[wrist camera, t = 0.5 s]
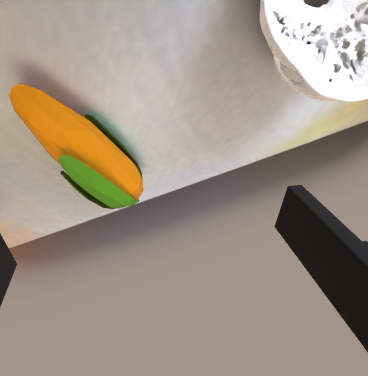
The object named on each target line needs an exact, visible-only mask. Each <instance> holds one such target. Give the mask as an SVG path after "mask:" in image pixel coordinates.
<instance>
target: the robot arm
mask: <svg viewBox="0 0 368 376" xmlns="http://www.w3.org/2000/svg"><path fill="white" fill-rule="evenodd" d="M275 228H276V229H277V231H278V232H279V233H280V235H281V236H282V237H283V238H284V240H285V241H286V243H287V244H288V245H289V247H290V248H291V249H292V251H293V252H294V253H295V255H296V256H297V257H298V259H299V260H300V261H301V262H302V264H303V265H304V267H305V268H306V269H307V271H308V272H309V274H310V275H311V276H312V278H313V279H314V280H315V282H316V283H317V284H318V286H319V287H320V288H321V290H322V291H323V293H324V294H325V295H326V297H327V298H328V299H329V301H330V302H331V303H332V305H333V306H334V307H335V308H336V310H337V311H338V312H339V314H340V315H341V317H342V318H343V319H344V321H345V322H346V324H347V325H348V326H349V327H350V329H351V330H352V332H353V333H354V334H355V335H356V337H357V338H358V340H359V341H360V342H361V344H362V345H363V346H364V348H365V349H366V350H367V352H368V242H367V241H361V240H360V239H359V238H358V237H357V236H356V235H355V234H353V233H352V232H351V231H350V230H349V229H348V228H347V227H346V226H345V225H344V224H342V222H341V221H340V220H338V219H337V218H336V217H335V216H334V215H333V214H332V213H331V212H330V211H329V210H328V209H327V208H326V207H324V206H323V205H322V204H321V203H320V202H319V201H318V200H317V199H316V198H315V197H314V196H313V195H312V194H311V193H309V192H308V191H307V190H306V189H305V188H304V187H303V186H302V185H296V186H288V187H287V191H286V194H285V197H284V200H283V203H282V206H281V209H280V212H279V215H278V218H277V221H276V224H275ZM16 265H17V263H16V261H15V260H14V258H13V256H12V254H11V252H10V250H9V249H8V247H7V245H6V243H5V241H4V239H3V238H2V236H1V234H0V306H1V304H2V301H3V299H4V296H5V293H6V291H7V288H8V286H9V283H10V281H11V278H12V276H13V273H14V270H15V268H16Z"/></svg>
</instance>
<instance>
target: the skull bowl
mask: <svg viewBox="0 0 368 376" xmlns="http://www.w3.org/2000/svg"><path fill="white" fill-rule="evenodd" d="M307 23H309V24H307ZM260 24H261V29H262V32H263V34H264V36H265V38H266V41H267V43H268V45H269V47H270V50H271V51H272V53H273V55H274V62H275V65H276V68H277V69H278V71H279V73H280V75H281V76H282V77H283V79H284V80H285V81H286V82H287V83H288V84H289V85H290V86H291V87H292V88H293V89H295V90H297V91H299V92H302V93H304V94H305V95H307V96H308V97H310V98H312V99H316V100H328V101H341V102H358V101H363V100H366V99H368V0H329V1H328V3H327V4H325V5H322V6H321V7H312V6H309V5H307V4H305V3H304V0H261V1H260ZM316 26H317V28H316V29H315V27H316ZM319 26H321V27H320V28H319ZM313 31H316V32H315V33H313ZM317 33H318V34H317ZM364 34H366V35H364ZM302 37H305V38H303V39H302ZM307 41H310V42H311V44H309V45H307V44H306V43H307ZM281 63H282V64H284V65H286V66H287V67H288V68H290V69H291V70H293V71H295V72H297V73H298V74H299V75H300V76H301V77H302V78H303V81H302V82H301V83H297V82H295V81H293V80H291V79H289V78H288V77H287V76H286V74H285V73H284V72H283V71H282V70H281ZM348 76H350V78H349V77H348Z"/></svg>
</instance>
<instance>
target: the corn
mask: <svg viewBox="0 0 368 376" xmlns="http://www.w3.org/2000/svg"><path fill="white" fill-rule="evenodd" d="M9 97H10V100H11V103H12V105H13V108H14V110H15V112H16V113H17V114H18V115H19V117H20V118H21V119H22V120H23V122H24V123H25V124H26V125H27V127H28V128H29V129H30V130H31V132H32V133H33V134H34V135H35V137H36V138H37V139H38V140H39V142H40V143H41V144H42V145H43V147H44V148H45V149H46V151H47V152H48V153H49V154H50V156H51V157H52V158H53V159H55V160H56V161H57V162H58V163H59V164H61V166H62V168H63V169H64V170H65V171H66V173H67V174H68V175H69V176H68V175H67V174H66V173H65V172H64V171H61V174H62V175H63V177H64V178H65V179H66V180H67V181H68V182H69V183H70V184H71V185H72V186H73V188H74V189H76V190H77V191H78V192H79V193H81V194H82V195H83V196H84V197H86V198H87V199H88V200H90V201H92V202H94V203H96V204H97V205H99V206H101V207H103V208H109V209H115V208H122V207H126V206H131V205H134V204H135V203H137V202H139V200H138V199H139V197H140V195H141V193H142V192H143V184H142V183H143V182H142V173H141V170H140V168H139V166H138V164H137V163H136V161H135V160H134V159H133V158H132V156H131V155H130V154H129V152H128V151H127V150H126V149H125V147H124V146H123V145H122V144H121V143H120V142H119V141H118V140H117V139H116V138H115V137H114V136H113V135H112V134H111V133H110V132H109V131H108V130H107V129H106V128H105V127H103V126H102V125H101V124H100V123H99V122H98V121H97V120H95V119H94V118H93V117H92V116H90V115H88V114H87V115H85V118H84V117H82V116H81V115H79V114H78V113H76V112H74V111H73V110H71V109H70V108H68V107H67V106H65V105H63V104H62V103H60V102H59V101H57V100H55V99H54V98H52V97H51V96H49V95H48V94H46V93H44V92H43V91H41V90H40V89H37V88H34V87H31V86H28V85H25V84H19V85H16V86H13V87H12V88H11V91H10V93H9Z"/></svg>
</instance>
